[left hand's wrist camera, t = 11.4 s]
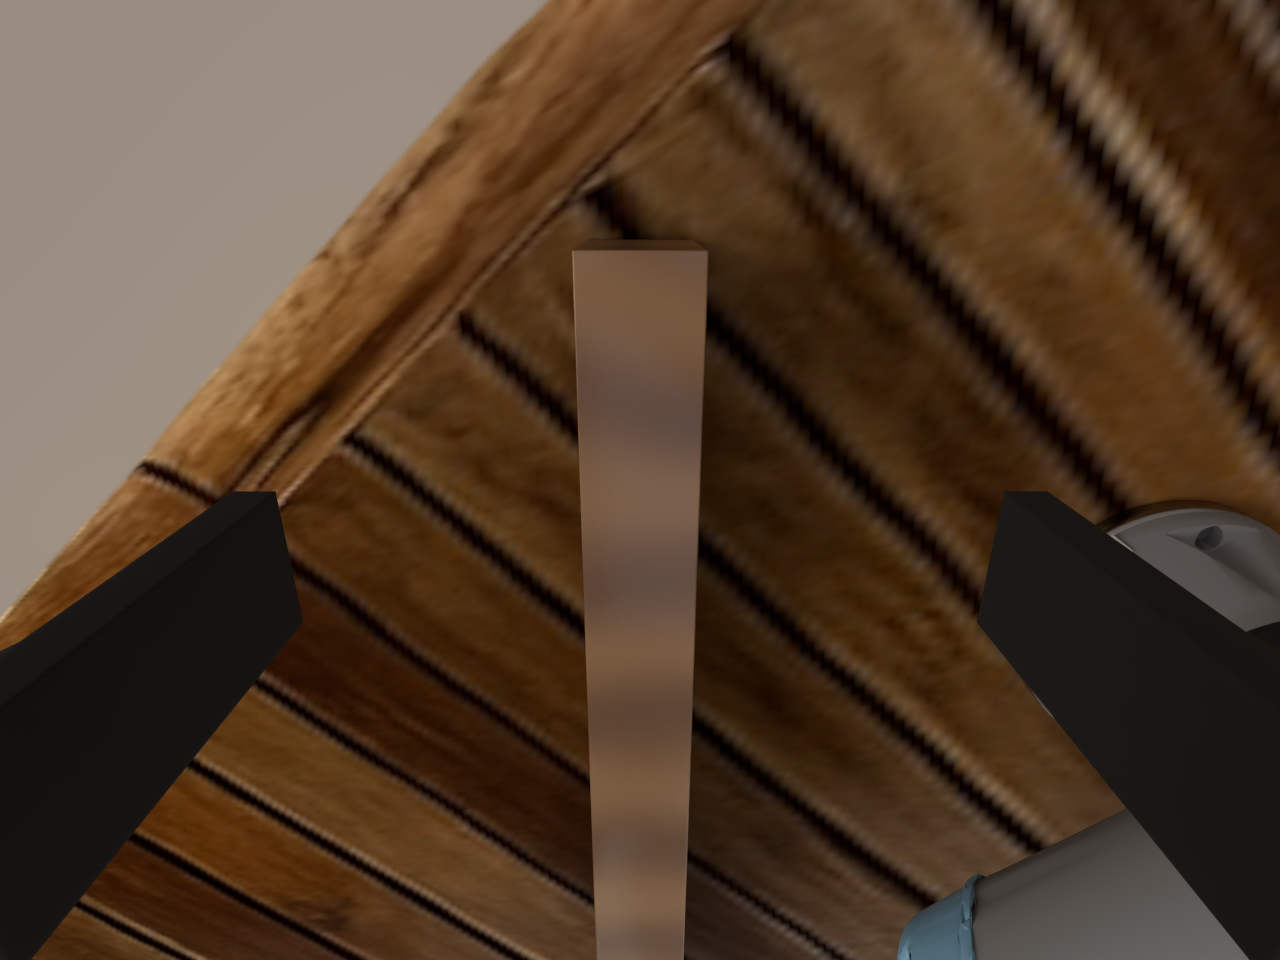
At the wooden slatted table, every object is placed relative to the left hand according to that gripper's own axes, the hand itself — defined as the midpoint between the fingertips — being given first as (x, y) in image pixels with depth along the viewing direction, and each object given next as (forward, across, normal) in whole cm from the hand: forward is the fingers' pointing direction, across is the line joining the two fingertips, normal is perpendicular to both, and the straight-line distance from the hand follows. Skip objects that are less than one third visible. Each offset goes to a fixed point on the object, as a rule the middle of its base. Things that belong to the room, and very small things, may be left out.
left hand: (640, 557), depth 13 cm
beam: (+23, 0, -25) cm, 34 cm away
